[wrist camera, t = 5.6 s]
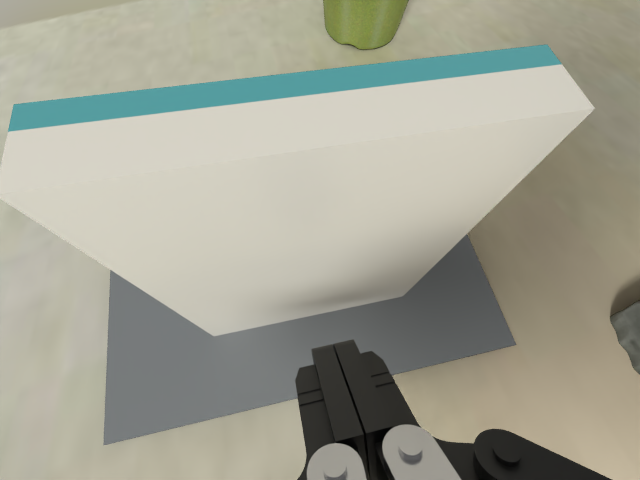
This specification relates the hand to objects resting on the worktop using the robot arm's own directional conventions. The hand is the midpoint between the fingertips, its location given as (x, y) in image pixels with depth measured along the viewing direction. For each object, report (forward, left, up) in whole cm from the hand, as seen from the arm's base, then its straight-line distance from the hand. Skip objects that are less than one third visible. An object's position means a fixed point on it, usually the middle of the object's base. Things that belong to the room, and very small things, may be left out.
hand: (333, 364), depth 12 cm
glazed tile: (-2, -3, -5) cm, 6 cm away
